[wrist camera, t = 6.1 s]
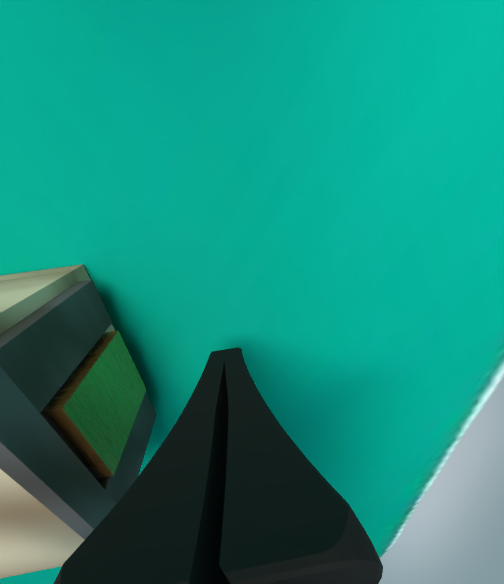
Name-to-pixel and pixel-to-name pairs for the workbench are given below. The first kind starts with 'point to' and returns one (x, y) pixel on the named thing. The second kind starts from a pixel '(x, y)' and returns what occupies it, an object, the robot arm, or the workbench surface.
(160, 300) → the workbench surface
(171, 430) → the robot arm
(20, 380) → the sleeve
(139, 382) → the peg
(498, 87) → the workbench surface
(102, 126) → the workbench surface
